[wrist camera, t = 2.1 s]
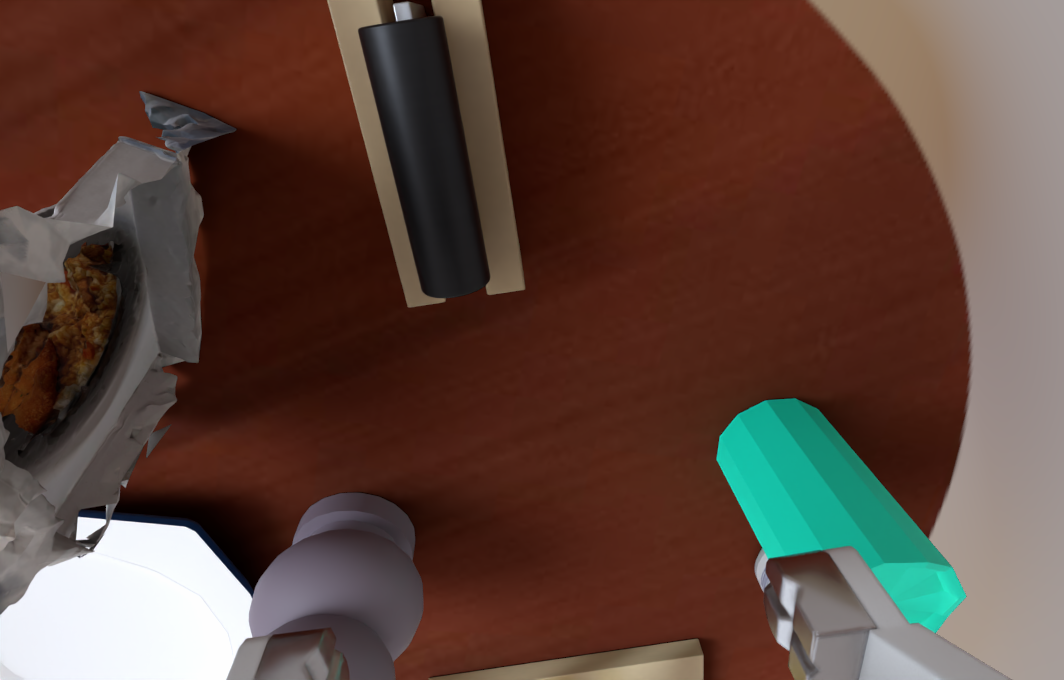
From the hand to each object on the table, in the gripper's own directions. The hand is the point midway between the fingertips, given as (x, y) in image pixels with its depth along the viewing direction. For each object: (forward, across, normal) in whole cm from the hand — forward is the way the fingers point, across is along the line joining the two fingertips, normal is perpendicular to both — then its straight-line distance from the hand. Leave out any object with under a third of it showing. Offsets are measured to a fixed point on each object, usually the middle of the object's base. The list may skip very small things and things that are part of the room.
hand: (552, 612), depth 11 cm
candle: (+17, -12, +12) cm, 24 cm away
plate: (+18, +27, +18) cm, 37 cm away
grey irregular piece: (+18, +15, -2) cm, 23 cm away
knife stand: (+17, +2, -6) cm, 18 cm away
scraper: (+17, +2, -6) cm, 18 cm away
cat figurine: (+17, +11, +14) cm, 25 cm away
